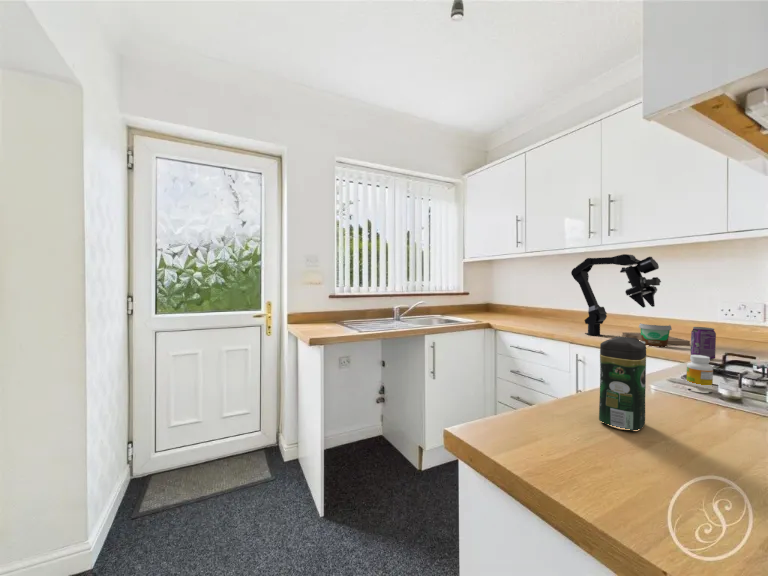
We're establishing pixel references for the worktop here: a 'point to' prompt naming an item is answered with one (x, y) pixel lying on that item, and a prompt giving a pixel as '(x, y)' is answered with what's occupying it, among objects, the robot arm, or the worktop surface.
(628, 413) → the coffee jar
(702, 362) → the supplement bottle
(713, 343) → the beverage can
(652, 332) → the food container
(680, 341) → the walnut chopping board
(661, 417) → the worktop surface
